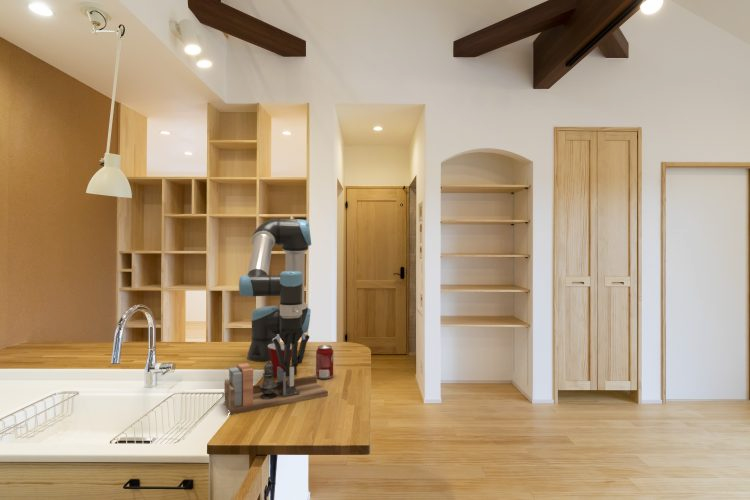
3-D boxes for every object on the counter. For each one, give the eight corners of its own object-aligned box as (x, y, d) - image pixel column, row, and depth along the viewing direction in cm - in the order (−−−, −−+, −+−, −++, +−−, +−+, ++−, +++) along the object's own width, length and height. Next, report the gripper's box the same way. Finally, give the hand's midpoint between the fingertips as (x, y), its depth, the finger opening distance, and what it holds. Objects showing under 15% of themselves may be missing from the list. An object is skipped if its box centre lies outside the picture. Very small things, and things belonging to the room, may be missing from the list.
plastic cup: (298, 376, 157) (298, 346, 157) (270, 380, 152) (270, 349, 152) (291, 369, 167) (291, 340, 167) (265, 372, 162) (265, 343, 162)
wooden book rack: (224, 402, 130) (224, 364, 130) (315, 386, 147) (315, 352, 147) (230, 414, 121) (231, 373, 121) (327, 395, 137) (328, 359, 137)
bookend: (276, 389, 137) (277, 366, 137) (293, 387, 140) (293, 364, 140) (283, 396, 131) (283, 372, 131) (300, 393, 134) (300, 369, 134)
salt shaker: (271, 400, 128) (271, 363, 128) (255, 398, 130) (256, 361, 130) (281, 394, 134) (281, 358, 134) (266, 392, 136) (266, 357, 136)
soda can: (330, 380, 153) (330, 349, 153) (313, 379, 154) (313, 348, 154) (335, 374, 160) (335, 345, 160) (319, 373, 161) (319, 344, 161)
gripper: (275, 319, 129) (274, 392, 129) (313, 316, 136) (312, 385, 136) (269, 316, 136) (268, 385, 136) (305, 313, 142) (304, 379, 143)
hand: (290, 385), depth 136 cm, fingers closed
